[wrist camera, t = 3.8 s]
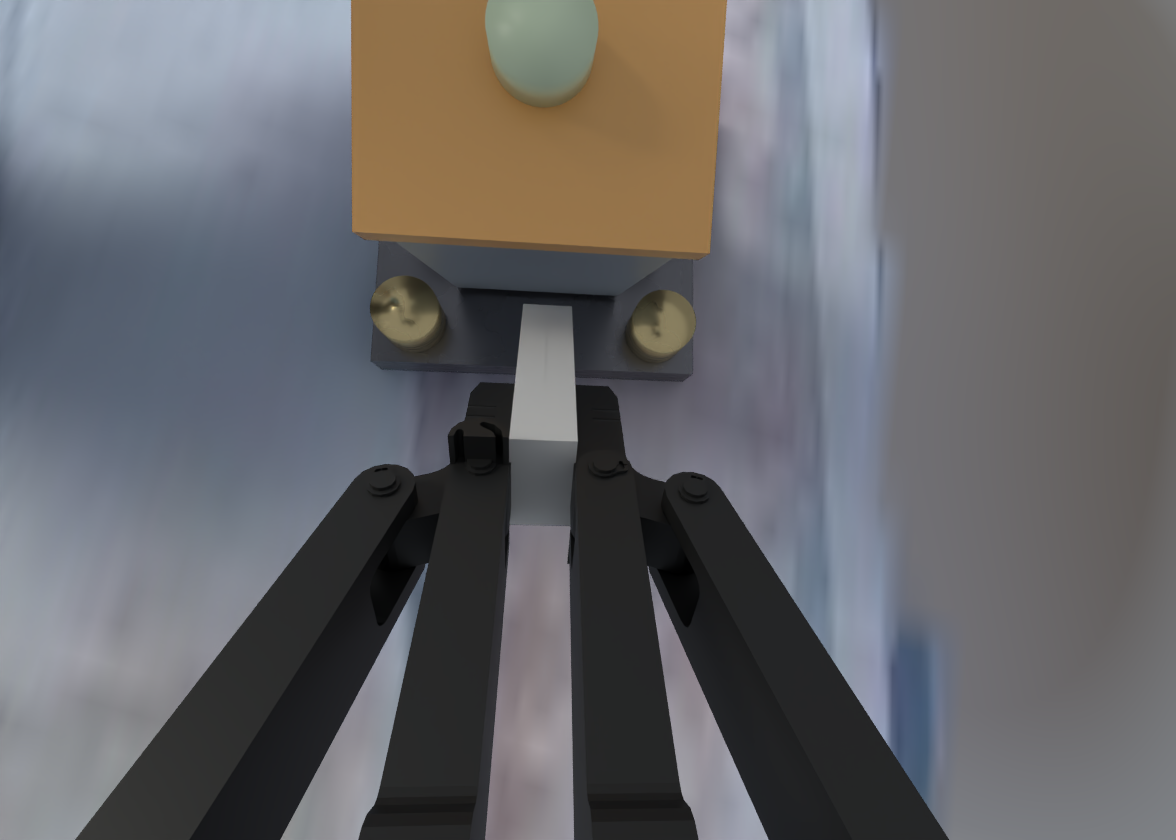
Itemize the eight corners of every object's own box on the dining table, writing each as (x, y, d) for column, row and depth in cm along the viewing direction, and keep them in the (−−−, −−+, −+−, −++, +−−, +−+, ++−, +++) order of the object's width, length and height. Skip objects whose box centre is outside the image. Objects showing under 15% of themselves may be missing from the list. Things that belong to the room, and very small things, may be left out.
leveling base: (682, 381, 31) (732, 344, 23) (381, 369, 30) (326, 325, 22) (683, 110, 33) (729, -9, 25) (400, 86, 32) (357, -46, 24)
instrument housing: (623, 302, 29) (724, 244, 13) (450, 293, 28) (334, 220, 12) (635, 64, 28) (765, -325, 12) (454, 48, 27) (329, -391, 11)
